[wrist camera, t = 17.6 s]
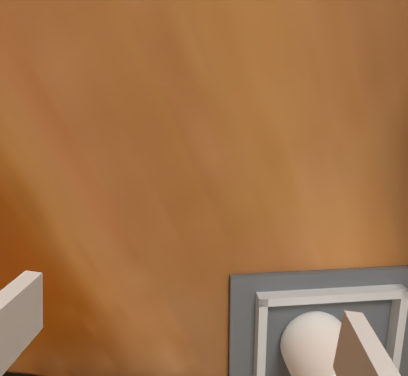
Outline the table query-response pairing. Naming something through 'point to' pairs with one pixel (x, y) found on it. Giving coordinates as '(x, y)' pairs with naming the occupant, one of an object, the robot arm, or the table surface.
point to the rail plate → (313, 301)
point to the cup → (311, 344)
